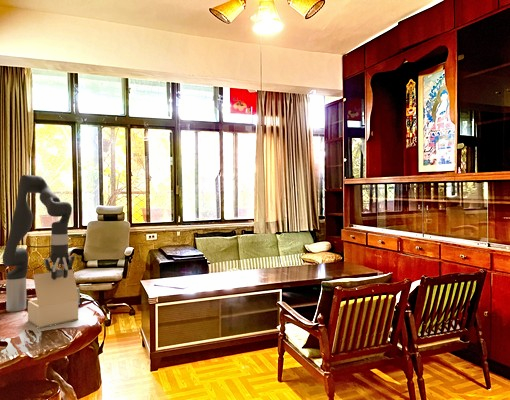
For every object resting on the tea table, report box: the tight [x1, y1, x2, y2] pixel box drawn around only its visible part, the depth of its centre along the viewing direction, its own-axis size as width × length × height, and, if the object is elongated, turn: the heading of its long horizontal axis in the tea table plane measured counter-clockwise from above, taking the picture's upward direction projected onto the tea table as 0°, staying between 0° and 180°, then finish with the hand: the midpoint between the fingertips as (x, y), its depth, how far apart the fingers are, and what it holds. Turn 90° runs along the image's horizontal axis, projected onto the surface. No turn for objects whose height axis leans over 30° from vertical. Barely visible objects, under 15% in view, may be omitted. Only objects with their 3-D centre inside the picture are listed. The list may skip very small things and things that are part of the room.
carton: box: [27, 298, 79, 329], centre depth 193 cm, size 16×18×10 cm
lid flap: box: [32, 268, 79, 307], centre depth 187 cm, size 16×18×9 cm
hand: (59, 278), depth 187 cm, fingers closed on lid flap, 4 cm apart
